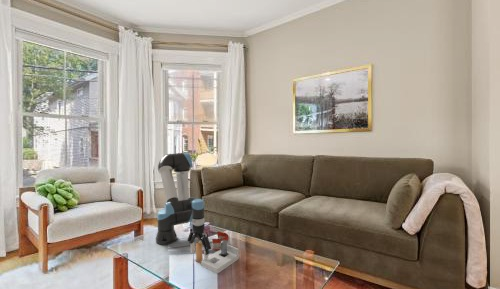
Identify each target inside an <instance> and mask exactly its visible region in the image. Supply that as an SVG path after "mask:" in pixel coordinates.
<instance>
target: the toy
mask: <svg viewBox="0 0 500 289" xmlns="http://www.w3.org/2000/svg"><path fill="white" fill-rule="evenodd" d="M216 234H217V238H212V239H211V242H212V248H211V249H212V251H219V250H221V240H227V244H228V245H229V243H230V242H229V241H230V240H229V239H230V237H229V234H228V233H227V232H223V231H216Z"/></svg>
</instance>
